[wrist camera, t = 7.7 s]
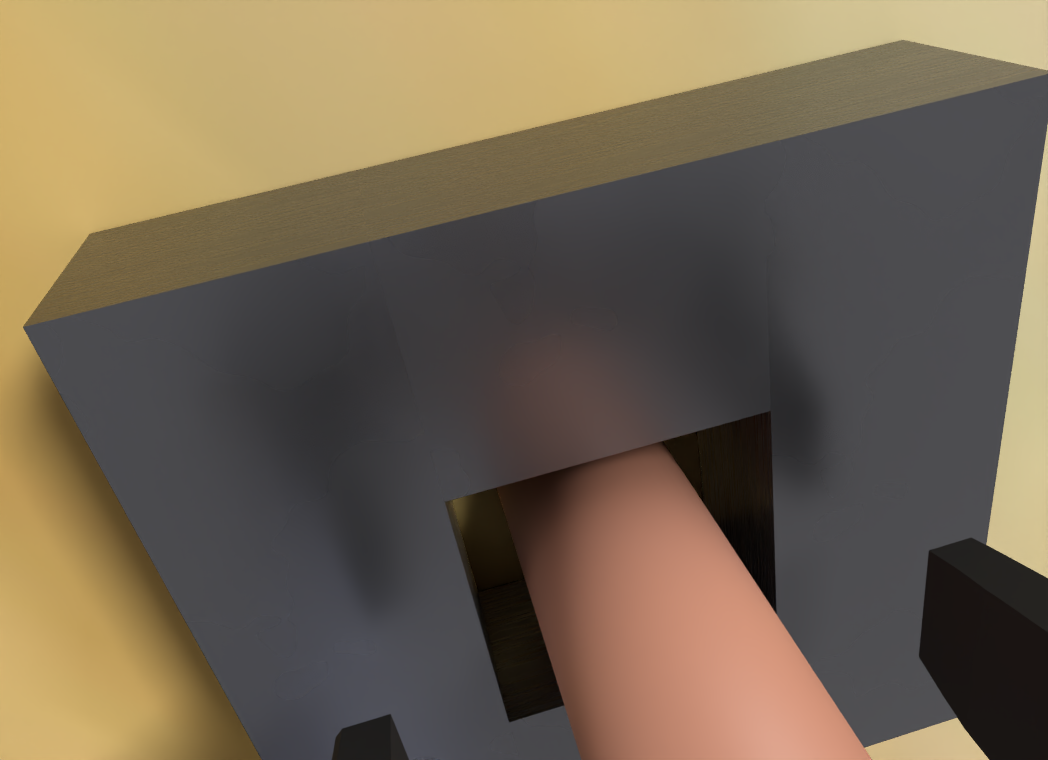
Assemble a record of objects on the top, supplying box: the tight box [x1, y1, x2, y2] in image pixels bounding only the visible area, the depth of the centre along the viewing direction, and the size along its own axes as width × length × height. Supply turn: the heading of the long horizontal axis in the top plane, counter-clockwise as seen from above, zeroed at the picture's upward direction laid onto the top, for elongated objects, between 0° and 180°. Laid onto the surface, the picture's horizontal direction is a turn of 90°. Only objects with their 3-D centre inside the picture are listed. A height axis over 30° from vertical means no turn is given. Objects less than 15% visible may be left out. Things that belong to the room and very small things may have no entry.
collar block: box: [23, 40, 1048, 760], centre depth 14 cm, size 12×12×3 cm
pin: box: [496, 441, 872, 760], centre depth 12 cm, size 3×3×8 cm
